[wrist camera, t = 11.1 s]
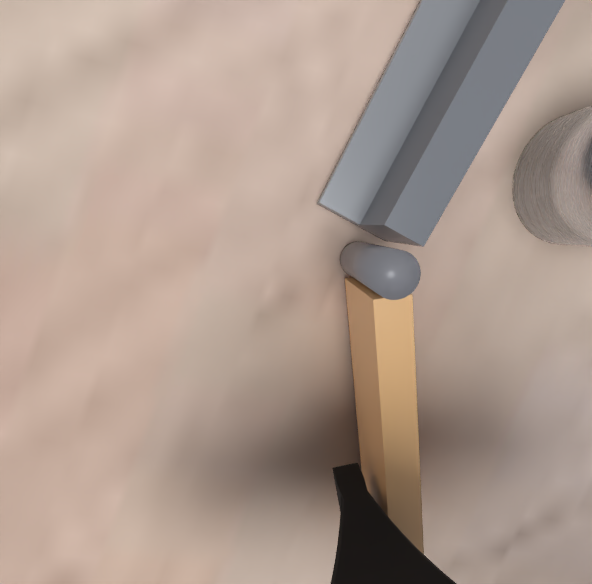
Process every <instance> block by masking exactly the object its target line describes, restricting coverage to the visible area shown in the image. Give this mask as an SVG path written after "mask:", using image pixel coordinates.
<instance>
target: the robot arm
mask: <svg viewBox="0 0 592 584" xmlns="http://www.w3.org/2000/svg"><path fill="white" fill-rule="evenodd" d="M333 473H334V479H335V484H336V490H337V495H338V501H339V506H340V512H341V515H340V527H339V537H338V545H337V552H336V559H335V564H334V570H333V575H332V580H331V584H456V583H455V582H454V581H453V580H451V579H450V578H449V577H448V576H447V575H445V574H444V573H443V572H442V571H441V570H440V569H439V568H437V567H436V566H435V565H434V564H433V563H432V562H431V561H430V560H429V559H428V558H427V557H426V556H425V555H424V554H423V553H421V552H420V551H419V550H418V549H417V548H416V547H415V546H414V545H413V544H412V543H411V542H410V540H409V539H408V538H407V537H406V536H405V535H404V534H403V533H402V532H401V531H400V530H399V529H398V527H397V526H396V525H395V524H394V523H393V522H392V521H391V520H390V518H389V517H388V516H387V515H386V514H385V512H384V511H383V510H382V509H381V507H380V506H379V505H378V504H377V502H376V501H375V500H374V499H373V497H372V496H371V495H370V493H369V492H368V490H367V487H366V483H365V479H364V476H363V474H362V472H361V470H360V467H359V465H358V463H354V464H349V465H344V466H340V467H335V468H333Z"/></svg>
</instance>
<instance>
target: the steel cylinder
mask: <svg viewBox="0 0 592 584" xmlns="http://www.w3.org/2000/svg"><path fill="white" fill-rule="evenodd" d="M513 201H514V206H515V209H516V212H517V214H518V216H519V218H520V220H521V222H522V223H523V225H524V226H525V227H526V228H527V229H528V230H529V231H530V232H531V233H532V234H533V235H535V236H536V237H538V238H540V239H541V240H544V241H546V242H549V243H554V244H564V245H579V246H592V105H591V106H588V107H585V108H583V109H580V110H578V111H575V112H572V113H570V114H567V115H565V116H562V117H559V118H557V119H555V120H553V121H551V122H550V123H548V124H547V125H546V126H544V127H543V128H542V129H541V130H539V131H538V132H537V133H536V134H535V135H534V137H533V138H532V139H531V140H530V141H529V143H528V144H527V145H526V147H525V148H524V150H523V152H522V154H521V156H520V158H519V160H518V163H517V166H516V169H515V173H514V178H513Z"/></svg>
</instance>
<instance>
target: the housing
mask: <svg viewBox="0 0 592 584" xmlns="http://www.w3.org/2000/svg"><path fill="white" fill-rule="evenodd" d="M564 1H565V0H420V2H419V4H418V6H417V8H416V10H415V12H414V14H413V16H412V18H411V20H410V22H409V24H408V26H407V28H406V30H405V32H404V34H403V36H402V38H401V39H400V41H399V43H398V45H397V47H396V49H395V51H394V53H393V55H392V57H391V59H390V61H389V63H388V65H387V67H386V69H385V71H384V73H383V75H382V77H381V79H380V81H379V83H378V85H377V87H376V89H375V90H374V92H373V94H372V96H371V98H370V100H369V102H368V104H367V106H366V108H365V110H364V112H363V114H362V116H361V118H360V120H359V122H358V124H357V126H356V128H355V130H354V132H353V134H352V136H351V138H350V139H349V141H348V143H347V145H346V147H345V149H344V151H343V153H342V155H341V157H340V159H339V161H338V163H337V165H336V167H335V169H334V171H333V173H332V175H331V177H330V179H329V181H328V183H327V185H326V187H325V189H324V190H323V192H322V194H321V196H320V198H319V200H318V202H317V204H318V205H320V206H322V207H324V208H326V209H328V210H329V211H331V212H333V213H335V214H337V215H339V216H340V217H342V218H344V219H346V220H348V221H350V222H351V223H353V224H355V225H357V226H359V227H361V228H362V229H364V230H366V231H368V232H370V233H372V234H373V235H375V236H377V237H379V238H381V239H383V240H384V241H390V242H396V243H403V244H409V245H416V246H422V247H424V245H425V243H426V241H427V240H428V238H429V236H430V235H431V233H432V231H433V229H434V228H435V226H436V224H437V222H438V221H439V219H440V217H441V215H442V214H443V212H444V210H445V208H446V207H447V205H448V203H449V201H450V200H451V198H452V196H453V195H454V193H455V191H456V189H457V188H458V186H459V184H460V182H461V181H462V179H463V177H464V175H465V174H466V172H467V170H468V168H469V167H470V165H471V163H472V161H473V160H474V158H475V156H476V155H477V153H478V151H479V149H480V148H481V146H482V144H483V142H484V141H485V139H486V137H487V135H488V134H489V132H490V130H491V128H492V127H493V125H494V123H495V121H496V120H497V118H498V116H499V115H500V113H501V111H502V109H503V108H504V106H505V104H506V102H507V101H508V99H509V97H510V95H511V94H512V92H513V90H514V88H515V87H516V85H517V83H518V81H519V80H520V78H521V76H522V74H523V73H524V71H525V69H526V68H527V66H528V64H529V62H530V61H531V59H532V57H533V55H534V54H535V52H536V50H537V48H538V47H539V45H540V43H541V41H542V40H543V38H544V36H545V34H546V33H547V31H548V29H549V28H550V26H551V24H552V22H553V21H554V19H555V17H556V15H557V14H558V12H559V10H560V8H561V7H562V5H563V3H564Z"/></svg>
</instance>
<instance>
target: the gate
mask: <svg viewBox="0 0 592 584" xmlns="http://www.w3.org/2000/svg"><path fill="white" fill-rule="evenodd" d="M340 262H341V266H342V268H343V270H344V271H345V272H346V273H347V274H349V275H350V276H352V277H350V278H345V287H346V298H347V310H348V321H349V333H350V344H351V356H352V367H353V378H354V390H355V401H356V413H357V424H358V435H359V447H360V458H361V470H362V474H363V476H364V479H365V483H366V487H367V490H368V492H369V493H370V495H371V496H372V497H373V499H374V500H375V501H376V502H377V504H378V505H379V506H380V507H381V509H382V510H383V511H384V512H385V514H386V515H387V516H388V517H389V518H390V520H391V521H392V522H393V523H394V524H395V525H396V526H397V527H398V529H399V530H400V531H401V532H402V533H403V534H404V535H405V536H406V537H407V538H408V539H409V540H410V542H411V543H412V544H413V545H414V546H415V547H416V548H417V549H418V550H419V551H420V552H421V553H423V554H424V548H423V525H422V503H421V480H420V457H419V435H418V412H417V390H416V367H415V344H414V322H413V299H412V294H411V293H412V292H413V291H414V290H415V289H416V287H417V285H418V283H419V280H420V274H421V272H420V266H419V263H418V261H417V260H416V258H415V257H414V256H413V255H412V254H410V253H408V252H406V251H403V250H398V249H394V248H389V247H384V246H379V245H374V244H369V243H364V242H353V243H350V244H349V245H347V246H346V247H345V248H344V250H343V251H342V253H341V257H340Z"/></svg>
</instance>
